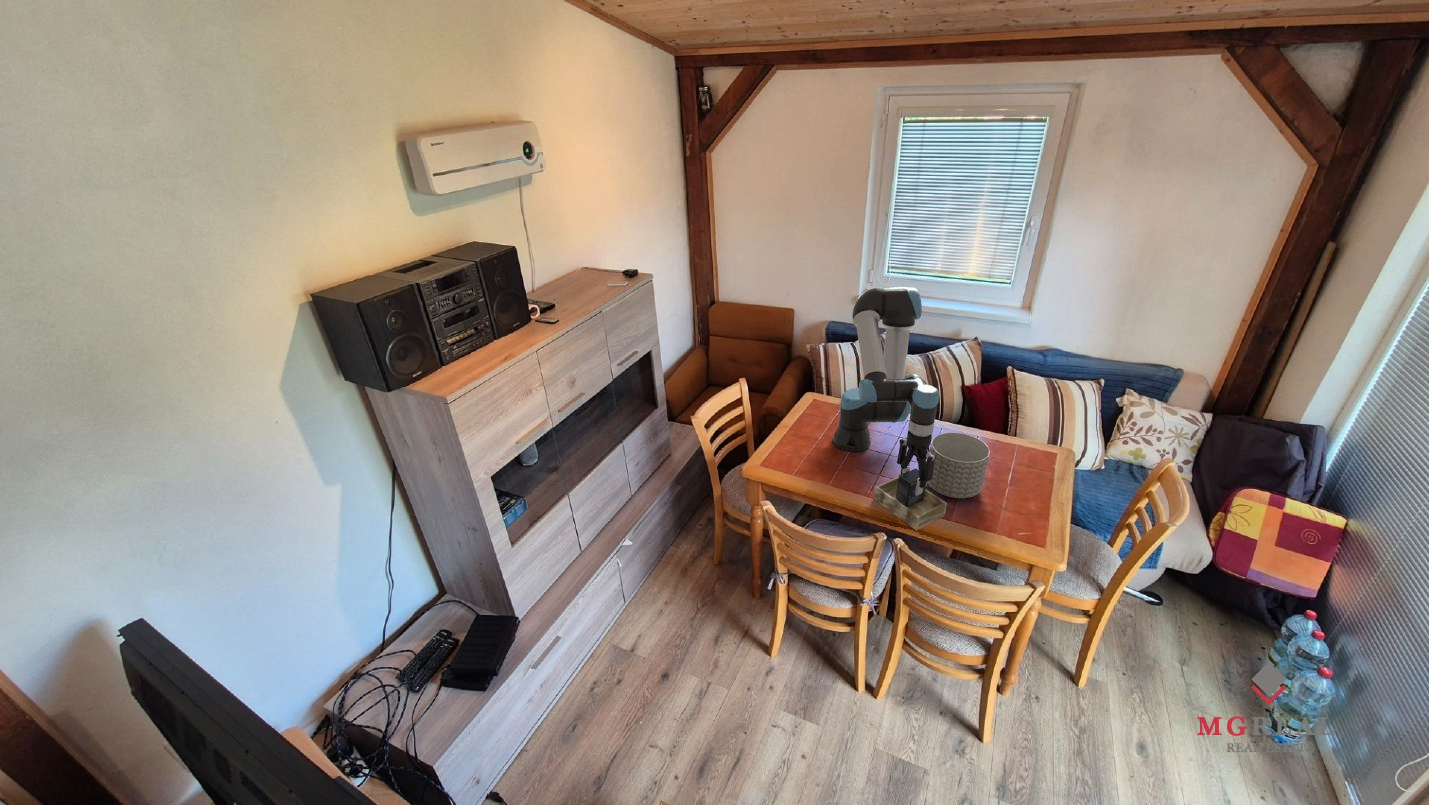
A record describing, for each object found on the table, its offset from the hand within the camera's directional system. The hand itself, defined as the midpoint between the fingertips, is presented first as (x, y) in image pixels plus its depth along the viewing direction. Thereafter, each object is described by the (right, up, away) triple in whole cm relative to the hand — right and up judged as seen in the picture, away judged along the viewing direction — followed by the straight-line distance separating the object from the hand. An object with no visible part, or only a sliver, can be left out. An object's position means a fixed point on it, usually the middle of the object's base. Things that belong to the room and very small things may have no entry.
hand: (911, 488), depth 192 cm
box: (0, -4, +2) cm, 5 cm away
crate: (0, -7, +4) cm, 8 cm away
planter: (+19, -2, +12) cm, 23 cm away
